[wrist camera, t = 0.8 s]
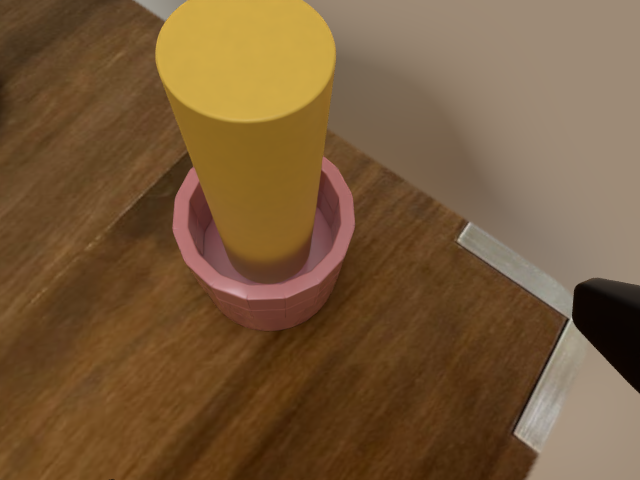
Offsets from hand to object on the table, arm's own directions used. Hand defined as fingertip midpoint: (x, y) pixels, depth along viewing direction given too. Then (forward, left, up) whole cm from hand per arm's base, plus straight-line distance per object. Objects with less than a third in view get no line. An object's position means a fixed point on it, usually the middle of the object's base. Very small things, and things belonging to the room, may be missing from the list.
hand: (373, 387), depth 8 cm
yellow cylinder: (+8, -1, -11) cm, 14 cm away
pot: (+8, -1, -14) cm, 16 cm away
